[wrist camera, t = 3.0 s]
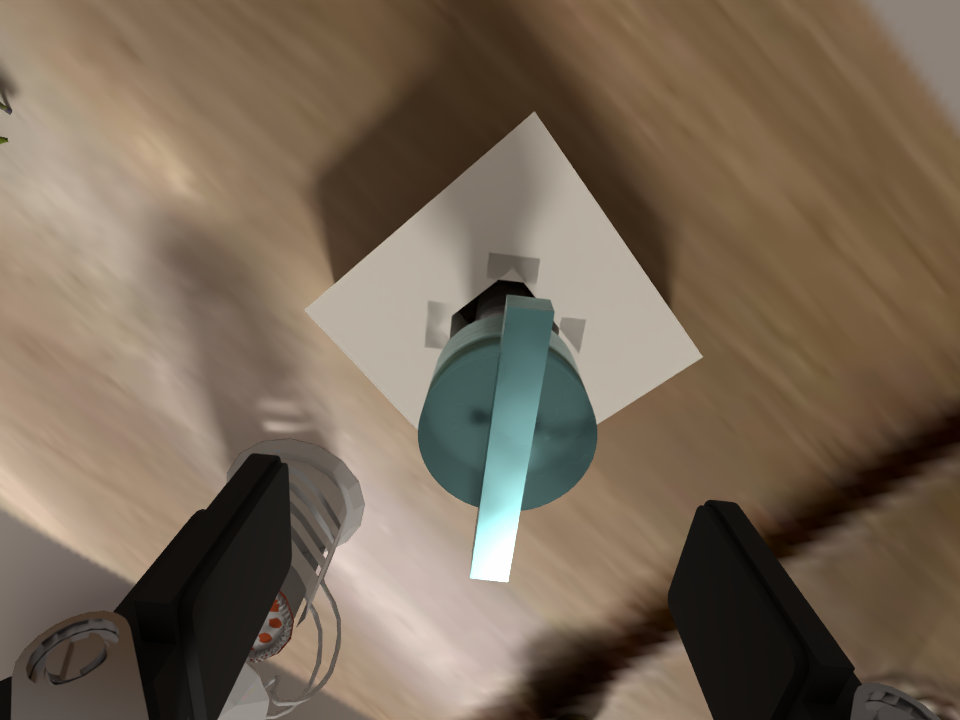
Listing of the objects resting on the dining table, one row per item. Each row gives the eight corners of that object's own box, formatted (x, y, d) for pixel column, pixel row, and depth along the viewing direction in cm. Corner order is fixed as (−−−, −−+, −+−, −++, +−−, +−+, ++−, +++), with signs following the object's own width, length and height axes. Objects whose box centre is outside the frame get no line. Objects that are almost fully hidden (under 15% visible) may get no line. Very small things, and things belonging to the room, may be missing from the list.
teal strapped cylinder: (464, 221, 28) (422, 296, 13) (563, 233, 28) (639, 321, 13) (449, 370, 31) (403, 570, 16) (538, 380, 31) (574, 589, 16)
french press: (286, 411, 32) (-247, 1042, 9) (411, 522, 35) (245, 1210, 12) (196, 492, 35) (-391, 1139, 12) (320, 589, 38) (41, 1257, 15)
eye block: (528, 119, 26) (534, 111, 21) (670, 325, 29) (702, 356, 25) (335, 286, 29) (303, 310, 25) (484, 450, 33) (481, 497, 28)
